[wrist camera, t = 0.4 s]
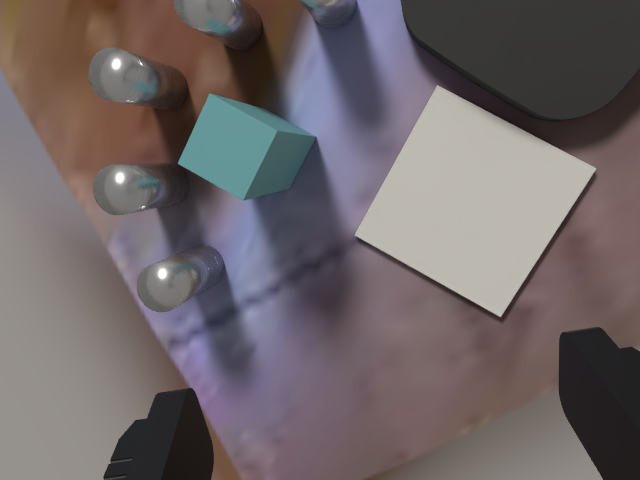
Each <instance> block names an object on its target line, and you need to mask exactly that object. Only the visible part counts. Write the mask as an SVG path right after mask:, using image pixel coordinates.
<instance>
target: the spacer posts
mask: <svg viewBox="0 0 640 480" xmlns="http://www.w3.org/2000/svg"><path fill="white" fill-rule="evenodd" d="M299 1H300V2H301V3H302V4H303V6H304V7H305V8H306V9H307V11H308V12H309V13H310V14H311V15H312V17H313V18H314V19H315V20H316V21H317V22H318V23H319V24H320V25H322V26H324V27H327V28H337V27H340V26H343V25H344V24H346V23H347V22H348V21H349V20H350V19H351V17H352V16H353V14H354V11H355V8H356V0H299ZM174 6H175V9H176V12H177V14H178V16H179V17H180V18H181V19H182V20H183V21H184V22H185V23H186V24H188V25H190V26H192V27H194V28H195V29H197V30H199V31H201V32H203V33H205V34H206V35H208V36H210V37H212V38H214V39H216V40H217V41H219V42H221V43H223V44H225V45H227V46H228V47H230V48H232V49H235V50H246V49H248V48H250V47H252V46H253V45H255V43H256V42H257V41H258V39H259V38H260V35H261V32H262V21H261V18H260V15H259V14H258V12H257V11H256V10H255V9H254V8H253V7H252V6H251V5H249V4H248V3H247V2H246V1H245V0H174ZM89 80H90V83H91V86H92V88H93V89H94V91H95V92H96V93H97V94H98V95H99V96H100V97H102V98H104V99H106V100H110V101H116V102H121V103H127V104H133V105H139V106H145V107H151V108H157V109H162V110H173V109H175V108H177V107H179V106H180V105H181V104H182V103H183V101H184V100H185V98H186V95H187V83H186V80H185V77H184V76H183V74H182V73H181V72H180V71H179V70H177V69H176V68H174V67H171V66H168V65H165V64H162V63H159V62H156V61H154V60H151V59H148V58H145V57H142V56H139V55H136V54H133V53H130V52H127V51H125V50H122V49H119V48H114V47H109V48H105V49H102V50H100V51H99V52H98V53H97V54H96V55H95V56H94V57H93V59H92V61H91V63H90V67H89ZM187 191H188V179H187V176H186V174H185V173H184V171H183V170H182V169H181V168H180V167H178V166H177V165H175V164H171V163H159V164H129V165H110V166H107V167H105V168H103V169H102V170H100V172H99V173H98V174H97V175H96V177H95V180H94V184H93V193H94V197H95V200H96V202H97V203H98V205H99V206H100V207H101V208H102V209H103V210H104V211H106V212H107V213H109V214H112V215H124V214H129V213H134V212H139V211H144V210H149V209H154V208H159V207H164V206H169V205H174V204H177V203H179V202H181V201H182V200H183V199H184V197H185V196H186V194H187ZM223 272H224V262H223V259H222V257H221V255H220V254H219V252H218V251H216V250H215V249H214V248H212V247H210V246H205V245H201V246H197V247H194V248H192V249H189V250H187V251H184V252H182V253H179V254H177V255H174V256H172V257H169V258H167V259H164V260H162V261H159V262H157V263H154V264H152V265H149V266H147V267H146V268H144V269H143V270H142V272H141V273H140V275H139V277H138V280H137V292H138V295H139V298H140V299H141V301H142V302H143V303H144V305H145V306H147V307H148V308H149V309H151V310H153V311H157V312H167V311H170V310H172V309H174V308H175V307H177V306H179V305H180V304H182V303H184V302H185V301H187V300H189V299H190V298H192V297H194V296H195V295H197V294H198V293H200V292H202V291H203V290H205V289H207V288H208V287H210V286H212V285H213V284H215V283H216V282H218V281H219V280H220V278H221V277H222V275H223Z"/></svg>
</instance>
